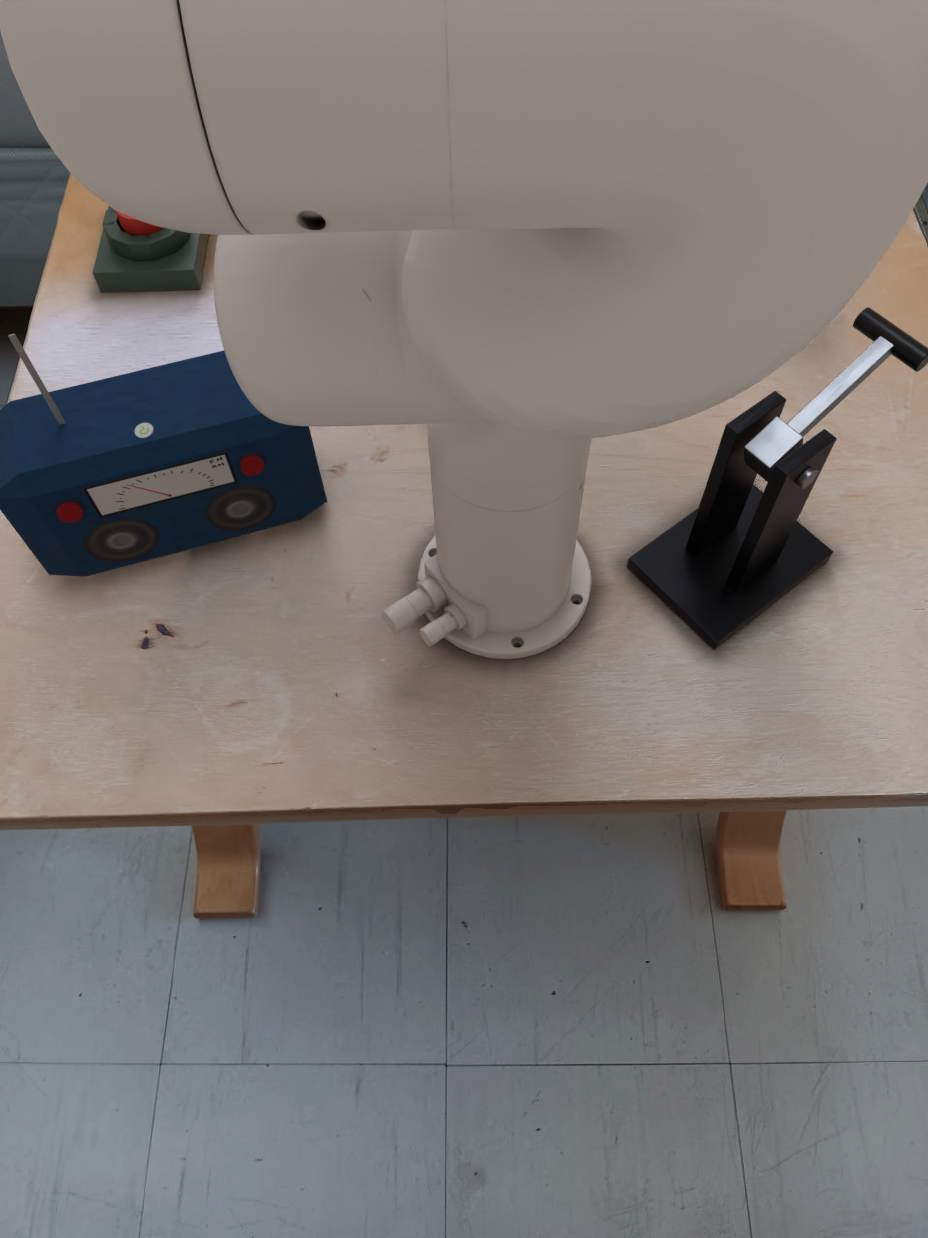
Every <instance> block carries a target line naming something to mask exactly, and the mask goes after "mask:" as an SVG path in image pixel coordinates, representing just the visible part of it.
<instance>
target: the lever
mask: <svg viewBox="0 0 928 1238" xmlns="http://www.w3.org/2000/svg"><path fill="white" fill-rule="evenodd" d="M852 327H853V328H854V329H855V330H857V331H858V332H859V333H861V334H862V335H863V336H865V337H866V338H868V339H869V340H870V341H872V343H871V344H870V345H869V346H868V347H867V348H865V349H864V350H863V351H862V352H861V353H860V354H859V355H858V356H857V357H856V358H854V360H853V361H852V362H850V363H849V365H848V366H846V367H845V368H844V369H843V370H842V371H841V372H840V373H839V374H837V376H835V378H833V379H832V380H831V381H830V382H829V383H828V384H827V385H826V386H825V387H824V388H823V389H822V390H821V391H820V392H818V393H817V395H815V396H814V397H813V398H812V399H811V400H810V401H809V402H807V404H806V405H804V406H803V408H801V410H799V411H798V412H797V413H796V414H795V415H793V417H792V418H791V419H790V420H789V421H788V422H786V421H784V420H783V419H781V417H780V418H779V417H777V416H776V417H775V418H774V419H773V420H772V421H771V422H770V423H769V424H768V425H767V426H766V427H765V428H763V429H762V430H761V431H760V432H759V433H758V434H757V435H756V436H755V437H754V438H753V439H752V440H751V441H750V442H748V443H747V444H746V445H745V446H744V459H745V464H746V465H748V466H749V467H750V468H751V469H752V470H754V471H755V472H756V473H757V475H758V476H759V477H761V478H762V479H763V480H764V481H765V482H767V483H768V480H769V478H770V476H771V473H772V471H773V468H774V466H775V464H777V463H778V462H779V461H781V460H782V459H784V458H785V457H786V456H788V455H789V454H790V453H792V452H793V451H795V450H796V449H797V448H799V447H800V446H802V445H803V444H804V437H805V436H806V435H807V434H808V433H809V432H810V431H811V430H812V429H813V428H814V427H816V426H817V425H818V424H819V423H820V422H821V421H822V420H823V419H824V418H825V417H826V416H827V415H829V413H830V412H832V411H833V410H834V409H835V408H836V407H837V406H838V405H839V404H841V402H842V401H844V399H846V398H847V397H848V396H849V395H850V394H851V393H852V392H854V390H855V389H856V388H857V387H858V386H860V385H861V384H862V383H863V382H864V381H865V380H866V379H867V378H868V377H869V376H871V374H872V373H874V372H875V371H876V370H877V369H878V368H879V367H880V366H881V365H882V364H883V363H884V362H885V361H887V359H889V357H891V356H893V357H895V358H896V359H897V360H899V361H900V362H902V363H903V364H904V365H905V366H907V367H908V368H910V369H911V370H913V371H914V372H918V373H919V372H920V371H921V370H923V369H924V368H925V367H926V366H927V365H928V347H927V346H926V345H924V344H923V343H921V341H919V340H917V339H916V338H914V337H913V336H911V334H909V333H907V332H906V331H904V330H903V329H901V328H900V327H899V326H897V325H896V324H894V323H893V322H891V321H890V320H889V319H887V318H886V317H884V316H883V315H881V314H880V313H879V312H877V311H876V310H874V309H873V308H871V307H869V306H867V307H865V308H864V309H863V310H861V311H860V312H859V314H858V315H857V316H856V318H855V319H854V321H853V323H852Z"/></svg>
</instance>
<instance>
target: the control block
mask: <svg viewBox="0 0 928 1238" xmlns="http://www.w3.org/2000/svg"><path fill="white" fill-rule="evenodd" d="M101 224H102V232H101V235H100V240H99V245H98V248H97V252H96V257H95V261H94V265H93V269H92V275H93V277H94V278H93V279H94V280H95V281H96V282H95V283H96V285H97V287H98V289H99V291H100V293H127V292H128V293H129V292H157V291H161V292H163V291H188V290H189V291H190V290H192V291H193V290H201V286H202V281H203V280H202V279H203V273H204V268H205V261H206V257H207V256H206V255H207V248H208V242H209V236H210V234H200V233H187V232H183V231H178V230H173V229H168V228H163V229H162V230H160V231H158V232H155V233H152V234H150V235H138V236H136V235H132V234H129V233H127V232H126V231H125V230H124V229H123V228H122V226H121V224H120V221H119V219H118V216H117V213H116V211H115V210H114V209H113V208H111V207H110V206H109V205H108V207H107V209H106V210H105V213H104V217H103V221H102V223H101Z"/></svg>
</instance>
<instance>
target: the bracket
mask: <svg viewBox="0 0 928 1238" xmlns="http://www.w3.org/2000/svg"><path fill="white" fill-rule="evenodd" d="M786 403H787V398H785V396H783V395H782V394H780V393H779V391H776V390H773V391H772V392H770V393H769V394H768V395H767V396H765V397H764V398H762V399H761V400H759V401H758V402H756V403H755V404H754V405H752V406H751V407H749V408H747V410H745V411H743V412H742V413H741V414H739V415H738V416H736V417H735V418H733V419H732V420H730V421H729V422H728V423H726V424H725V426H724V430H723V432H722V436H721V438H720V442H719V444H718V448H717V451H716V454H715V456H714V460H713V463H712V466H711V469H710V472H709V475H708V478H707V481H706V485H705V488H704V491H703V493H702V497H701V498H700V503H699V505H698V507H697V508H696V509H695V510H693V511H692V512H691V513H689V514H688V515H686V516H685V517H684V518H683V519H680V521H678V522H676V523H675V524H673V526H671V527H670V528H669V529H667V530H665V531H664V532H662V533H661V534H660V535H658V536H657V537H655V539H653V540H652V541H649V543H648V544H646V545H644V546H643V547H642V548H641V549H639V550H638V551H636V552H635V553H634V554H632V555H631V556H630V557H628V559H627V562H626V568H627V569H628V570H629V571H630V572H631V573H633V575H635V576H636V578H638V579H639V580H640V581H641V582H642V583H643V584H644V585H645V586H646V587H647V588H648V589H649V590H650V591H651V592H652V593H654V595H655V596H657V598H658V599H660V600H661V602H663V603H664V604H665V605H666V606H667V607H668V608H669V609H670V610H671V611H672V612H673V613H674V614H676V616H677V617H679V619H681V620H682V621H683V623H685V625H687V626H688V627H689V628H690V629H691V630H692V631H693V632H694V633H695V634H697V636H699V638H701V640H703V641H704V642H705V643H706V644H707V645H708V646H709V647H710V648H711V649H712V650H713V651H715V650H717V649H718V648H719V647H720V646H721V645H723V644H724V643H726V642H727V641H729V639H731V638H732V637H733V636H734V635H735V634H737V633H738V632H739V631H741V630H742V629H744V628H745V626H747V625H748V624H750V623H751V622H752V621H753V620H755V619H756V618H757V617H758V616H760V615H761V614H762V613H764V612H765V611H766V610H767V609H769V608H770V607H771V606H772V605H774V604H775V603H777V602H778V601H779V600H780V599H781V598H783V597H784V596H785V595H786V594H788V593H789V592H790V591H791V590H793V589H794V588H796V587H797V586H798V585H799V584H800V583H802V582H803V581H805V579H807V578H808V577H809V576H811V575H812V574H813V573H814V572H816V571H817V570H818V569H820V568H821V567H822V566H823V565H824V564H826V563H827V562H828V561H829V560H830V558H831V556H832V555H833V553H834V551H833V549H831V548H830V547H829V546H827V544H826V543H824V542H823V541H821V540H820V539H819V538H818V537H817V536H816V535H814V534H813V533H812V532H811V531H810V530H808V529H807V528H806V527H805V526H804V525H803V524H802V523H801V522H799V521H798V519H799V517H800V516H801V513H802V511H803V509H804V507H805V505H806V503H807V501H808V499H809V496H810V495H811V493H812V490H813V488H814V486H815V485H816V483H817V480H818V478H819V476H820V474H821V472H822V470H823V468H824V466H825V464H826V462H827V460H828V457H829V456H830V453H831V451H832V449H833V448H834V445H835V443H836V441H837V437H836V436H835V435H834V434H832V433H831V432H829V431H828V430H827V429H825V428H823V429H822V430H820V431H819V432H818V433H816V434H815V435H813V437H811V438H810V439H808V440H807V441H805V442H803V445H802V446H800V447H799V448H797V449H796V450H795V451H793V452H792V453H790V454H789V455H788V456H786V457H785V458H784V459H782V460H781V461H779V462H778V463H777V464H775V466H774V468H773V471H772V473H771V476H770V478H769V480H768V482H767V483H766V485H765V488H764V490H763V491H762V490H761V489H760V488H758V486H756V485H755V484H754V483H755V481H756V478H757V475H758V474H757V473H756V472H755V471H754V470H752V469H751V468H750V467H749V466H748V465H746V464H745V459H744V446H745V445H746V444H747V443H748V442H750V441H751V440H752V439H753V438H754V437H755V436H756V435H757V434H758V433H759V432H760V431H761V430H762V429H763V428H765V427H766V426H767V425H768V424H769V423H770V422H771V421H772V420H773V419H774V418H775V417H776V416H777V417H779V418H780V419H781V415H782V413H783V410H784V407H785V405H786Z"/></svg>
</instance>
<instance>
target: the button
mask: <svg viewBox="0 0 928 1238" xmlns="http://www.w3.org/2000/svg"><path fill="white" fill-rule="evenodd" d="M115 211H116V210H115ZM116 213H117V216H118V219H119V221H120V224H121V226H122V228H123V229H124V230H125V231H126V232H127V233H129V234H132V235H136V236H138V235H150V234H152V233H155V232H158V231H160V230H162V229H163V227H158V226H155V225H152V224H149V223H146V222H143V221H140V220H138V219H135V218H133V217H131V216H128V215H126V214H123V213H121V212H119V211H116Z"/></svg>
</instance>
